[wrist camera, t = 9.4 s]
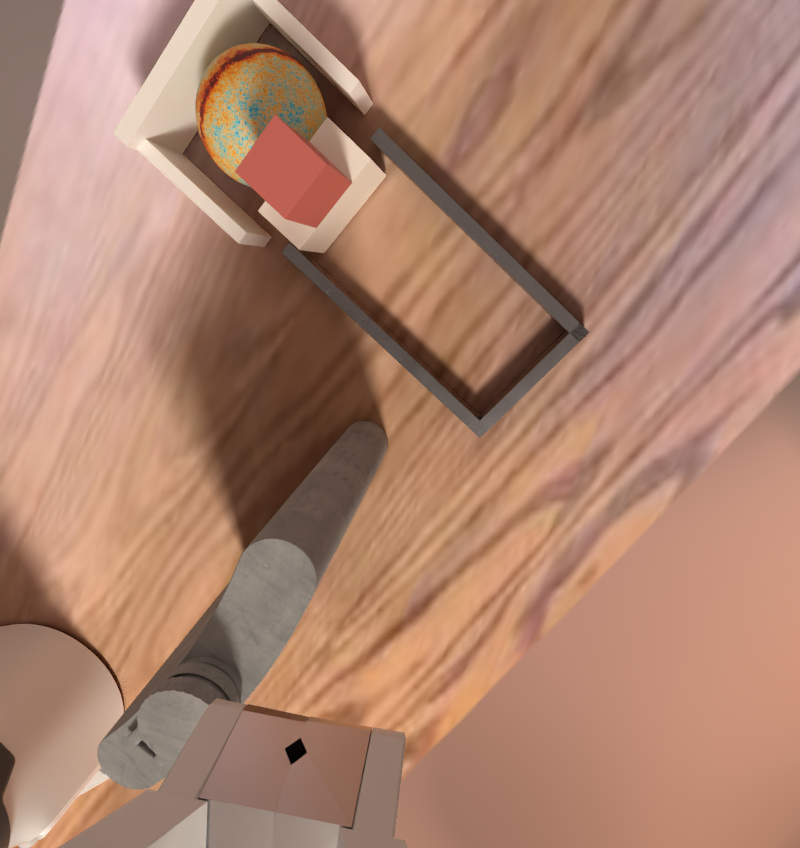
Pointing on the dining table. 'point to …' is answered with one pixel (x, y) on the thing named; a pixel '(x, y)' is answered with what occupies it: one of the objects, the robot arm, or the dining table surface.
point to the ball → (253, 101)
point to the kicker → (309, 181)
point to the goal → (177, 87)
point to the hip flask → (246, 614)
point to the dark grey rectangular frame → (402, 352)
